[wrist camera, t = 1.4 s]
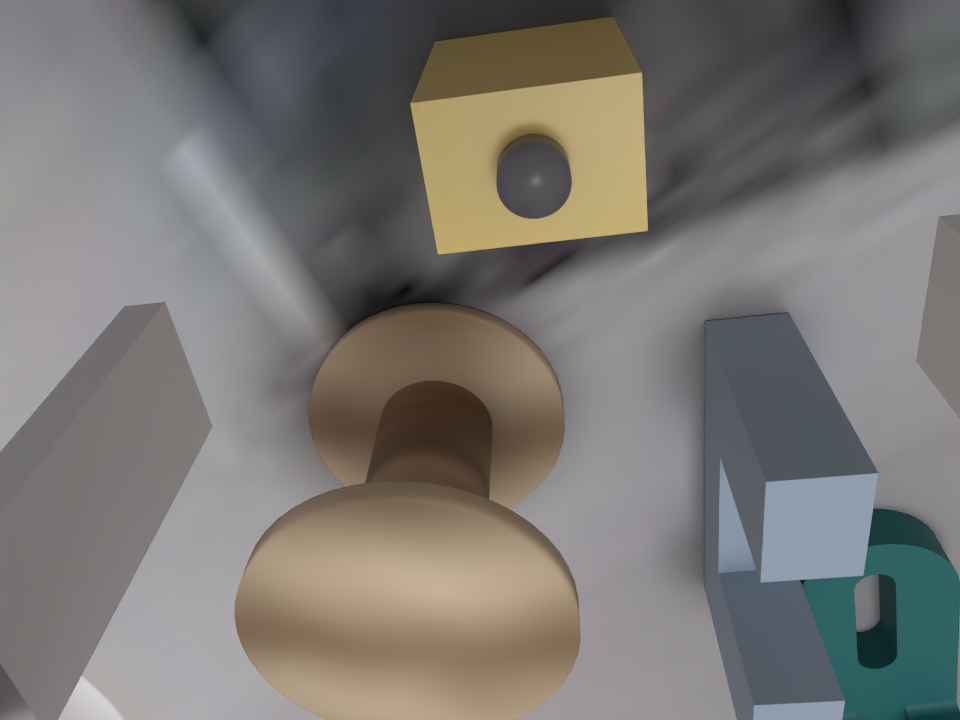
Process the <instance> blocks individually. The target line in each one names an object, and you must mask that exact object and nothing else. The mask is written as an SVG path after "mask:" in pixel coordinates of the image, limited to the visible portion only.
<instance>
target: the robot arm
mask: <svg viewBox="0 0 960 720" xmlns="http://www.w3.org/2000/svg"><path fill="white" fill-rule="evenodd" d="M916 362H917V363H918V364H919V365H920V367H921V368H922V369H923V371H924V372H925V373H926V375H927V376H928V377H929V379H930V380H931V381H932V382H933V384H934V385H935V386H936V388H937V389H938V390H939V392H940V393H941V394H942V396H943V397H944V398H945V399H946V401H947V402H948V403H949V405H950V406H951V407H952V409H953V410H954V411H955V413H956V414H957V415H958V416H959V418H960V214H958V215H949V216H940V217H939V219H938V225H937V231H936V238H935V244H934V251H933V257H932V263H931V270H930V276H929V283H928V289H927V295H926V302H925V308H924V315H923V321H922V327H921V334H920V340H919V347H918V353H917V359H916ZM211 428H212V424H211V421H210V419H209V416H208V413H207V411H206V408H205V406H204V403H203V400H202V398H201V395H200V392H199V390H198V387H197V385H196V382H195V379H194V377H193V374H192V371H191V369H190V366H189V364H188V361H187V358H186V356H185V353H184V350H183V348H182V345H181V343H180V340H179V337H178V335H177V332H176V329H175V327H174V324H173V322H172V319H171V316H170V314H169V311H168V308H167V306H166V303H165V302H161V303H152V304H143V305H134V306H125V307H124V308H123V309H122V310H121V311H120V312H119V314H118V315H117V316H116V317H115V318H114V319H113V321H112V322H111V323H110V324H109V325H108V326H107V328H106V329H105V330H104V331H103V332H102V334H101V335H100V336H99V337H98V338H97V339H96V341H95V342H94V343H93V344H92V345H91V346H90V348H89V349H88V350H87V351H86V352H85V353H84V355H83V356H82V357H81V358H80V359H79V360H78V362H77V363H76V364H75V365H74V366H73V367H72V369H71V370H70V371H69V372H68V373H67V375H66V376H65V377H64V378H63V379H62V380H61V382H60V383H59V384H58V385H57V386H56V387H55V389H54V390H53V391H52V392H51V393H50V394H49V396H48V397H47V398H46V399H45V400H44V401H43V403H42V404H41V405H40V406H39V407H38V409H37V410H36V411H35V412H34V413H33V414H32V416H31V417H30V418H29V419H28V420H27V421H26V423H25V424H24V425H23V426H22V427H21V428H20V430H19V431H18V432H17V433H16V434H15V435H14V437H13V438H12V439H11V440H10V441H9V442H8V444H7V445H6V446H5V447H4V448H3V450H2V451H1V452H0V720H58V718H59V717H60V715H61V713H62V711H63V709H64V707H65V705H66V703H67V702H68V699H69V698H70V696H71V694H72V692H73V690H74V688H75V686H76V684H77V682H78V680H79V679H80V677H81V675H82V673H83V671H84V669H85V667H86V665H87V664H88V662H89V660H90V658H91V656H92V654H93V652H94V650H95V648H96V646H97V645H98V643H99V641H100V639H101V637H102V635H103V633H104V631H105V629H106V628H107V626H108V624H109V622H110V620H111V618H112V616H113V614H114V612H115V610H116V609H117V607H118V605H119V603H120V601H121V599H122V597H123V595H124V593H125V591H126V590H127V588H128V586H129V584H130V582H131V580H132V578H133V576H134V574H135V573H136V571H137V569H138V567H139V565H140V563H141V561H142V559H143V557H144V555H145V554H146V552H147V550H148V548H149V546H150V544H151V542H152V540H153V538H154V536H155V535H156V533H157V531H158V529H159V527H160V525H161V523H162V521H163V519H164V517H165V516H166V514H167V512H168V510H169V508H170V506H171V504H172V502H173V500H174V499H175V497H176V495H177V493H178V491H179V489H180V487H181V485H182V483H183V481H184V480H185V478H186V476H187V474H188V472H189V470H190V468H191V466H192V464H193V462H194V461H195V459H196V457H197V455H198V453H199V451H200V449H201V447H202V445H203V443H204V442H205V440H206V438H207V436H208V434H209V432H210V430H211Z"/></svg>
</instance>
